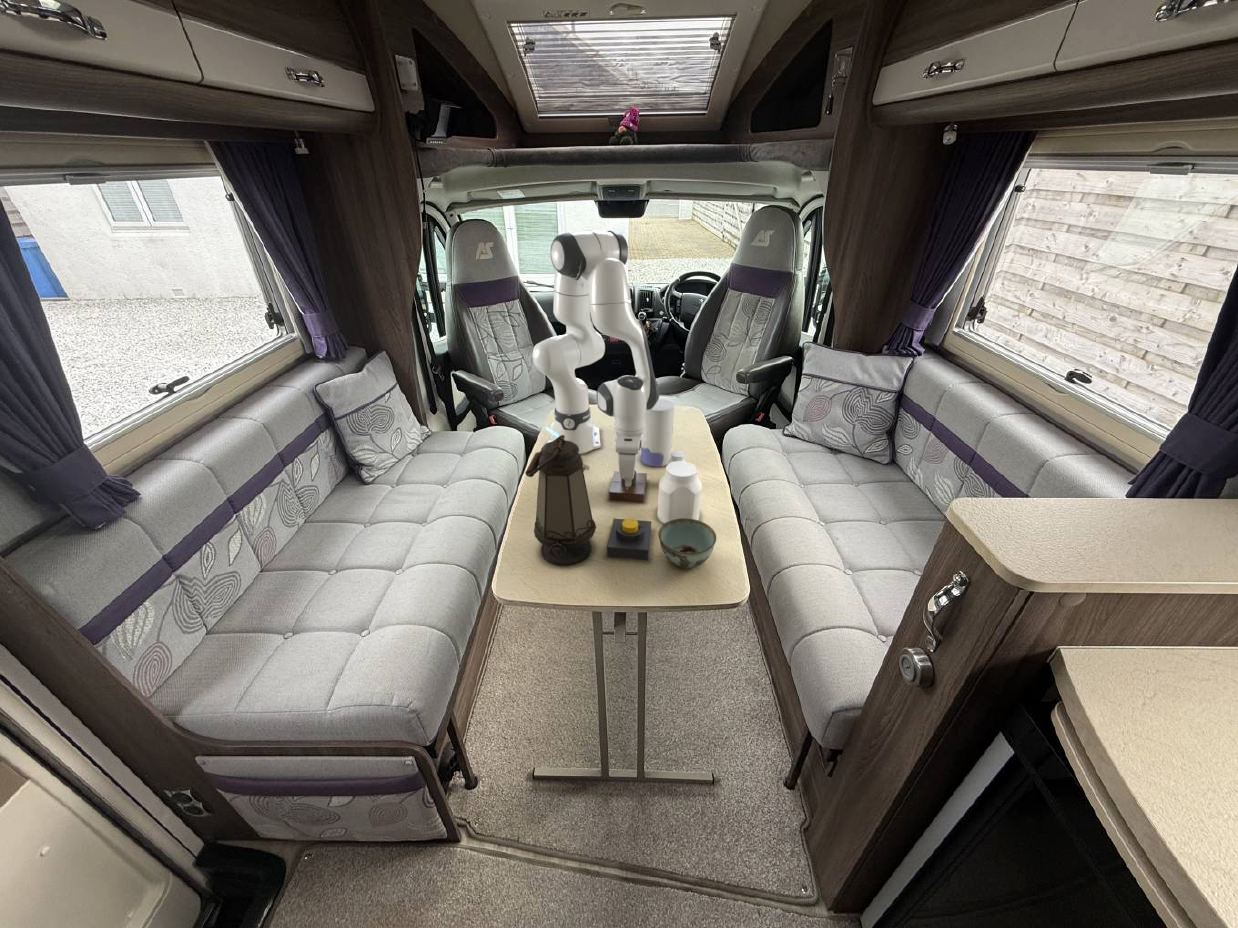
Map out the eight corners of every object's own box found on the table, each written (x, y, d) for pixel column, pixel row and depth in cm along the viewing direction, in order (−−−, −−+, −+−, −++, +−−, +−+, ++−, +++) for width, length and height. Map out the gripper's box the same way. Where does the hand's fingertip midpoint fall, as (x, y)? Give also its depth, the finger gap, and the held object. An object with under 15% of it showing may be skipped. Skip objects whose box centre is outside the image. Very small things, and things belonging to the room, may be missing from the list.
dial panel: (614, 479, 155) (614, 470, 153) (646, 481, 154) (646, 472, 152) (609, 500, 144) (609, 491, 143) (643, 503, 143) (643, 493, 142)
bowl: (689, 537, 129) (691, 511, 126) (725, 566, 120) (728, 539, 116) (646, 555, 123) (647, 529, 119) (680, 587, 113) (682, 560, 109)
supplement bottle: (683, 487, 151) (686, 458, 146) (666, 485, 152) (667, 457, 147) (685, 478, 155) (687, 450, 151) (668, 476, 156) (669, 448, 152)
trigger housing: (613, 528, 133) (613, 512, 130) (651, 530, 132) (651, 515, 129) (607, 557, 122) (607, 540, 120) (647, 560, 121) (648, 544, 119)
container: (676, 459, 166) (680, 403, 157) (659, 470, 160) (662, 412, 150) (652, 450, 172) (655, 395, 162) (634, 460, 165) (636, 404, 156)
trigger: (623, 523, 127) (623, 518, 126) (638, 524, 126) (638, 519, 125) (621, 533, 123) (621, 527, 122) (637, 534, 123) (637, 528, 122)
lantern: (591, 576, 116) (587, 464, 102) (527, 571, 118) (514, 460, 103) (601, 529, 132) (599, 426, 118) (545, 525, 134) (536, 423, 119)
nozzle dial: (621, 477, 150) (622, 466, 148) (636, 478, 149) (636, 467, 147) (620, 485, 146) (620, 474, 144) (635, 486, 145) (635, 475, 144)
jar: (658, 525, 134) (661, 477, 126) (656, 505, 142) (658, 459, 135) (701, 525, 134) (706, 477, 126) (696, 505, 142) (700, 459, 135)
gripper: (622, 419, 149) (623, 459, 156) (614, 450, 131) (615, 494, 138) (643, 420, 149) (643, 460, 155) (638, 451, 131) (637, 495, 137)
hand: (629, 477), depth 146 cm, fingers open, 8 cm apart
